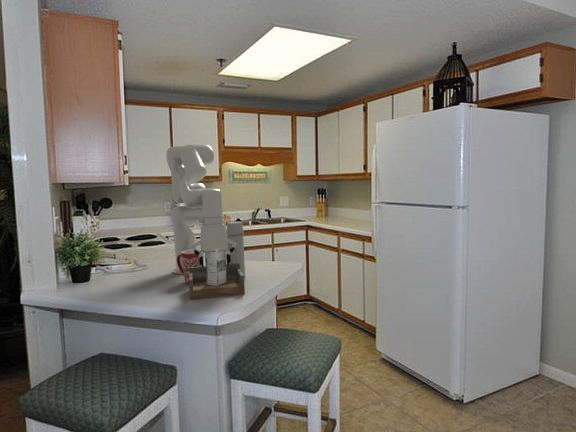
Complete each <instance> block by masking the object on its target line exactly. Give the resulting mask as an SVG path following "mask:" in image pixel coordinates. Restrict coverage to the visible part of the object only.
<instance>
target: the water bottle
mask: <svg viewBox="0 0 576 432" xmlns="http://www.w3.org/2000/svg"><path fill="white" fill-rule="evenodd" d="M243 225H244V224H243V221H230V222H226V231H227V238H228V239H230V240H232V241H235V242H236V243H237V245H236V247H235V250H234V251H233V252H232V253H231V254H230V258H231V262H229V264H235V263H240V269H241V271H242V273H243V275H244V281H245V280H246V267H245V266H246V264H245V262H246V261H245V245H244V244H245V243H244V235H245V232H244V226H243ZM232 245H233V244H231V243H228V249H229V250H230V248H231V247H232Z"/></svg>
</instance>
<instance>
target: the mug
mask: <svg viewBox="0 0 576 432" xmlns="http://www.w3.org/2000/svg"><path fill="white" fill-rule="evenodd" d="M197 250H198V251H199V252H200V251H201V249H197ZM180 257H182V261H183V268H182V266H181V263H180ZM177 264H178V267H179V269H180V271H181V272H182V274H181V275H183V279H184V284H186V285H189V267H200V266H202V265H200V260H199V256H198V255H197V254H195V253H194V251H193V250H186V251H182V252H181V254H180V255H178V256H177Z"/></svg>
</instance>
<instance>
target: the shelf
mask: <svg viewBox="0 0 576 432" xmlns="http://www.w3.org/2000/svg"><path fill="white" fill-rule="evenodd" d="M226 273H227V283H224V284H222V285H219V286H212V285H207V284H206V265H204V267H202V266H200V267H189V284H188V286H189V299H190V300H199V299H209V298H217V297H227V296H237V295H245V294H246V291H245V290H246V289H245V280H244V275H243V273H242V271H241V269H240V263H235V264H229V265H227V263H226Z"/></svg>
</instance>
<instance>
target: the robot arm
mask: <svg viewBox="0 0 576 432" xmlns="http://www.w3.org/2000/svg"><path fill="white" fill-rule="evenodd" d="M214 153H215V152H214V150H213V148H212V147H211V146H210V145H209V144H187V145H177V146H176V145H175V146H171V147H168V148H167V150H166V163H167V165H168V169H169V171H170V173H171V185H172V186H171V187H172V199H173V201H174V203H176V204H184V205H180V206H176V207H174V208H172V209H171V211H170V220H171V224H172V230H173V241H174V256H175V257H174V258H175V268H173V270H172V273H173V274H177V275H183V274H182V272H181V271H180V269H179V267H178V264H177V256H178V255H180V254H181V252H182V251H186V250H193V251H194V253H195V254H197V255H198V256H199V260H200V265H202V267H204V266H205V265H204V263H205V262H204V256H203V255H205V252H212V251H213V249H219V251H226V264H227V265H229V262H231V258H230V254H231V253H232V252H233V251H234V250H235V247H236V245H237V243H236V242H235V241H232V240H230V239H228V238H227V225H226V224H224V217H223V198H222V197H223V196H222V195H223V194H222V191H221V190H220V189H219V188H209V187H208V188H207V187H206V186H205V184H204V183H201V182H200V181H201V180H203V179H204V178H205V177H206V175H207V169H206V166H205V165H211V164H212V163H213V162H214V160H215V154H214ZM198 225H201V227H200V236H199V237H200V238H199V239H200V240H199V241H198V240H197V242H195V241H196V239H195V233H194V232H193V230H192V229H191V228H190V227H191V226H198ZM189 226H190V227H189ZM228 243H231V244H233V245H232V247H231V248H230V250H229V249H228ZM198 246H200V250H201V251H200V252H199V251H198V250H199V249H197V247H198ZM180 263H181V266H182V268H183V261H182V257H180Z"/></svg>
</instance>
